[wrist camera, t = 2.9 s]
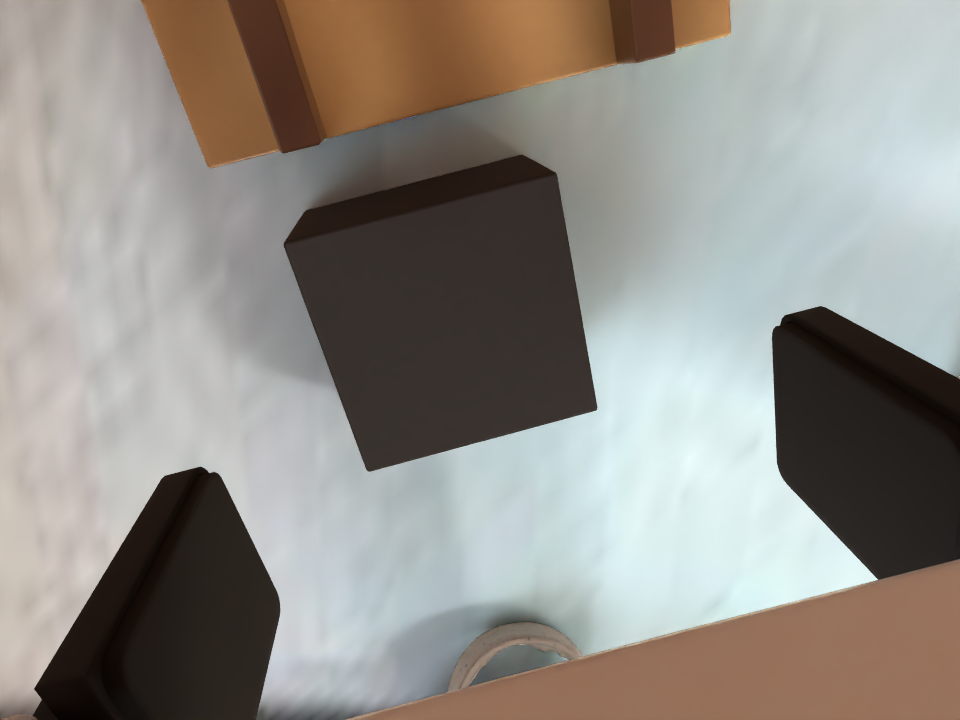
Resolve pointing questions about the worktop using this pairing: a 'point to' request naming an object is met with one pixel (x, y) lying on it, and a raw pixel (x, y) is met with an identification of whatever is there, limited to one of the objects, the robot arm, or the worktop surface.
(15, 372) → the worktop surface
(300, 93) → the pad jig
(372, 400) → the dark grey square block
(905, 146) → the worktop surface
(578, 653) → the ceramic mug
